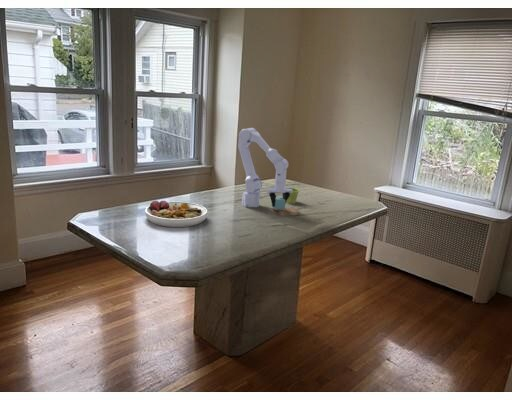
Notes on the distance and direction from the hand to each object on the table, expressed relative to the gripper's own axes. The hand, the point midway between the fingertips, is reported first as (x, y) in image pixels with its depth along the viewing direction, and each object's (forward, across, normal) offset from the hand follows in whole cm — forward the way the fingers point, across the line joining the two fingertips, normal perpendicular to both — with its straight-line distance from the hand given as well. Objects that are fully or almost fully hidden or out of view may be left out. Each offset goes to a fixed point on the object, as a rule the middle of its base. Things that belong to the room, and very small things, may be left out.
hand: (278, 205), depth 231 cm
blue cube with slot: (+1, 0, 0) cm, 1 cm away
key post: (+2, 0, 0) cm, 2 cm away
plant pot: (+4, +14, +15) cm, 21 cm away
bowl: (+4, -56, -4) cm, 56 cm away
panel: (+4, +4, -2) cm, 6 cm away
